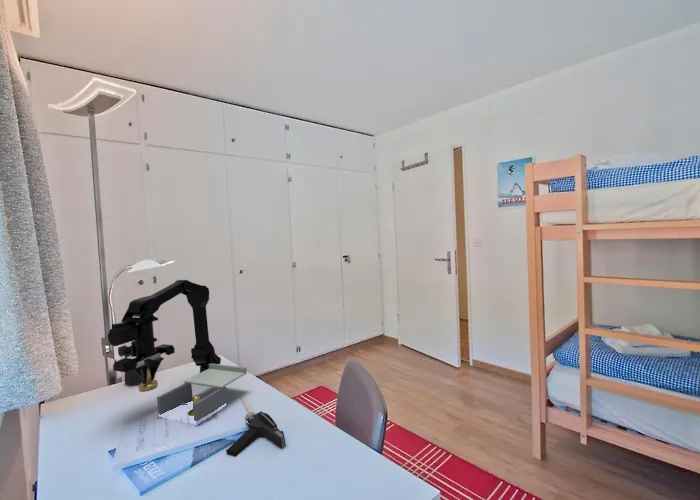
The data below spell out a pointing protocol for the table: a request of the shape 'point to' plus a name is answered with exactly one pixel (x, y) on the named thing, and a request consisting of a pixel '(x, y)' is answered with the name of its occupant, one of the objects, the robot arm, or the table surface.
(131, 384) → the black plunger
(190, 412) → the brass knob
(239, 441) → the toy gun
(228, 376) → the lid
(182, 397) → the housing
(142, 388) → the brass door knob
